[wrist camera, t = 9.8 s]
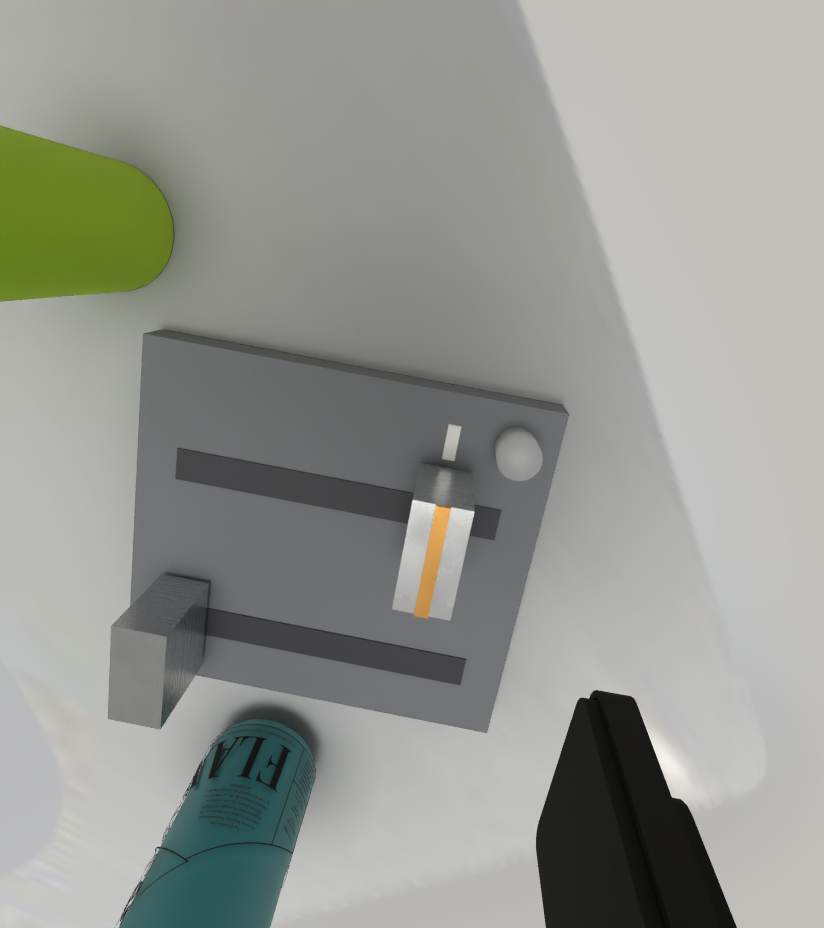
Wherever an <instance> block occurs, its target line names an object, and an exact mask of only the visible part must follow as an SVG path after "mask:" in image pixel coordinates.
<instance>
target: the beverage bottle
mask: <svg viewBox="0 0 824 928" xmlns="http://www.w3.org/2000/svg"><path fill="white" fill-rule="evenodd" d="M221 734H222V733H221ZM218 736H219V735H218ZM218 736H217V737H218ZM217 737H216V738H217ZM214 740H215V739H214ZM214 740H213V741H214ZM213 741H212V742H213ZM210 745H211V744H210ZM212 745H213V746H212V748H211V749H210V752H209V754H208V755H207V757H206V758H205V759H206V760H205V759H204V761H201V763H202V762H204V764H203V763H202V764H203V765H202V764H201V763H200V765H199V767H198V769H197V771H196V774H195V776H194V777H193V779H192V780H193V782H192V781H191V783H192V785H191V787H190V786H189V787H190V789H187V790H186V791H189V790H190V791H189V793H188V792H187V793H188V795H187V793H186V792H185V793H186V794H185V795H184V796H187V797H186V799H185V800H184V798H183V797H184V796H183V797H182V798H183V800H184V802H183V804H182V806H181V805H180V806H181V808H180V806H179V808H180V810H178V811H179V812H178V811H177V810H176V811H177V812H178V814H177V816H176V818H175V820H174V822H172V826H171V828H169V830H168V833H167V832H166V833H167V834H165V833H164V834H165V839H164V837H163V838H162V839H164V841H163V840H162V841H163V843H162V845H161V847H157V848H160V849H159V851H158V853H157V854H156V855H155V856H156V857H155V856H154V857H155V859H153V858H154V857H153V858H152V859H153V860H152V859H151V860H152V861H153V863H152V861H151V860H150V861H151V862H150V863H152V865H151V864H150V865H151V867H150V868H149V870H148V872H147V874H146V875H144V876H145V878H144V880H143V882H142V881H141V880H139V882H140V881H141V883H140V885H141V886H140V885H139V882H138V885H137V887H136V888H135V889H136V890H137V888H138V886H139V888H138V890H137V892H136V890H134V891H135V892H136V893H137V894H136V893H135V892H134V894H135V895H136V896H135V895H134V894H133V895H134V896H135V898H134V896H133V895H132V896H131V897H133V898H134V900H133V901H132V903H131V905H130V906H128V905H126V906H128V908H129V909H128V908H127V907H125V909H124V910H126V908H127V910H128V911H127V910H126V911H123V912H124V913H122V914H124V915H122V916H125V917H122V916H121V917H122V918H123V919H122V918H120V919H121V920H122V922H121V924H120V927H119V928H270V926H271V922H272V919H273V915H274V912H275V908H276V905H277V901H278V898H279V894H280V891H281V888H282V884H283V880H284V877H285V874H286V872H288V871H287V869H289V867H288V866H289V865H290V864H289V863H290V862H291V860H290V859H291V858H292V857H291V856H292V855H293V851H294V848H295V844H296V841H297V837H298V834H299V831H300V827H301V824H302V821H303V817H304V814H305V810H306V807H307V804H308V800H309V797H310V794H311V790H312V787H313V784H314V780H315V779H314V772H316V769H315V770H314V767H315V765H314V760H313V756H312V753H311V751H310V749H309V747H308V745H307V744H306V742H305V741H304V740H303V739H302V738H301V737H300V735H298V734H297V733H296V732H295V731H294V730H292V729H291V728H289V727H287V726H285V725H283V724H281V723H278V722H275V721H272V720H266V719H250V720H245V721H242V722H239V723H237V724H234V725H233V726H231V727H229V728H228V729H227V730H226V731H224V732H223V734H222V735H221V736H220V737H219V738H218V739H217V740H216V741H215V743H214V742H213V744H212ZM210 747H211V746H210ZM208 749H209V748H208ZM205 754H206V753H205ZM205 756H206V755H205ZM202 760H203V759H202ZM200 767H201V769H200ZM199 769H200V771H199ZM198 772H199V773H198ZM315 777H316V775H315ZM191 783H190V784H191ZM189 787H188V788H189ZM181 800H182V799H181ZM177 812H176V813H177ZM174 814H175V813H174ZM175 815H176V814H175ZM172 818H174V816H173V817H172ZM171 820H172V819H171ZM171 820H170V821H171ZM169 823H170V822H169ZM170 824H171V823H170ZM170 824H169V826H170ZM167 829H168V827H167ZM167 829H166V831H167ZM163 836H164V835H163ZM157 848H156V849H157ZM156 849H155V851H156ZM155 853H156V852H155ZM148 864H149V863H148ZM146 868H147V867H146ZM146 868H145V869H146ZM144 871H145V870H144ZM286 875H287V874H286ZM141 878H142V876H141ZM141 878H140V879H141ZM285 879H286V878H285ZM284 882H285V881H284ZM131 897H130V899H131V900H132V899H133V898H131ZM130 899H129V901H128V903H127V904H129V902H130ZM126 912H127V913H126ZM125 914H126V915H125ZM121 920H120V921H121ZM118 922H119V921H118ZM115 927H116V926H115Z"/></svg>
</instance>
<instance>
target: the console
mask: <svg viewBox="0 0 824 928" xmlns="http://www.w3.org/2000/svg"><path fill="white" fill-rule="evenodd" d="M568 416H569V414H568V412H567V411H566V409H565V408H564V407H563V405H559V404H554V403H549V402H543V401H538V400H533V399H528V398H522V397H517V396H512V395H506V394H501V393H496V392H490V391H485V390H480V389H475V388H469V387H464V386H459V385H453V384H448V383H443V382H438V381H432V380H427V379H422V378H416V377H411V376H406V375H401V374H395V373H390V372H385V371H379V370H374V369H369V368H363V367H358V366H353V365H348V364H342V363H337V362H332V361H326V360H321V359H316V358H311V357H305V356H300V355H295V354H289V353H284V352H279V351H273V350H268V349H263V348H258V347H252V346H247V345H242V344H236V343H231V342H226V341H221V340H215V339H210V338H205V337H199V336H194V335H189V334H183V333H178V332H173V331H168V330H158V331H153V332H149V333H144V334H143V349H142V370H141V391H140V412H139V433H138V454H137V475H136V496H135V517H134V538H133V559H132V580H131V601H130V606H131V605H132V604H133V603H134V602H135V601H136V600H137V599H138V598H139V597H140V596H141V595H142V594H143V593H144V592H145V591H146V590H147V589H148V588H149V587H150V586H151V585H152V583H153V582H154V581H155V580H156V579H157V578H158V577H159V576H160V575H161V574H164V575H169V576H174V577H179V578H185V579H190V580H195V581H200V582H205V583H209V591H208V602H207V614H206V625H205V636H204V647H203V659H202V666H201V668H200V669H199V671H198V672H197V674H196V675H198V676H203V677H208V678H213V679H218V680H223V681H228V682H233V683H238V684H243V685H248V686H253V687H258V688H263V689H268V690H273V691H278V692H283V693H288V694H293V695H298V696H303V697H309V698H314V699H319V700H324V701H329V702H334V703H339V704H344V705H349V706H354V707H359V708H364V709H369V710H374V711H379V712H384V713H389V714H394V715H399V716H404V717H409V718H414V719H419V720H424V721H429V722H434V723H439V724H444V725H449V726H454V727H459V728H464V729H469V730H474V731H479V732H484V733H487V730H488V727H489V723H490V719H491V715H492V711H493V707H494V703H495V699H496V695H497V692H498V688H499V684H500V680H501V676H502V672H503V668H504V664H505V661H506V657H507V653H508V649H509V645H510V641H511V637H512V633H513V629H514V626H515V622H516V618H517V614H518V610H519V606H520V602H521V598H522V594H523V591H524V587H525V583H526V579H527V575H528V571H529V567H530V563H531V559H532V556H533V552H534V548H535V544H536V540H537V536H538V532H539V528H540V525H541V521H542V517H543V513H544V509H545V505H546V501H547V497H548V493H549V490H550V486H551V482H552V478H553V474H554V470H555V466H556V462H557V458H558V455H559V451H560V447H561V443H562V439H563V435H564V431H565V427H566V423H567V420H568ZM420 463H424V464H430V465H435V466H440V467H445V468H450V469H456V470H461V471H466V472H471V473H473V488H474V510H475V512H474V517H473V521H472V526H471V530H470V535H469V539H468V544H467V548H466V553H465V557H464V562H463V566H462V571H461V575H460V580H459V584H458V589H457V593H456V598H455V602H454V607H453V611H452V616H451V620H450V621H449V620H444V619H439V618H434V617H429V616H428V619H426V618H421V617H416V616H414V613H408V612H403V611H398V610H393V609H392V606H393V601H394V595H395V590H396V585H397V580H398V574H399V569H400V564H401V558H402V553H403V548H404V542H405V537H406V532H407V527H408V521H409V516H410V511H411V505H412V500H413V495H414V491H415V486H416V481H417V477H418V472H419V467H420Z"/></svg>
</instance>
